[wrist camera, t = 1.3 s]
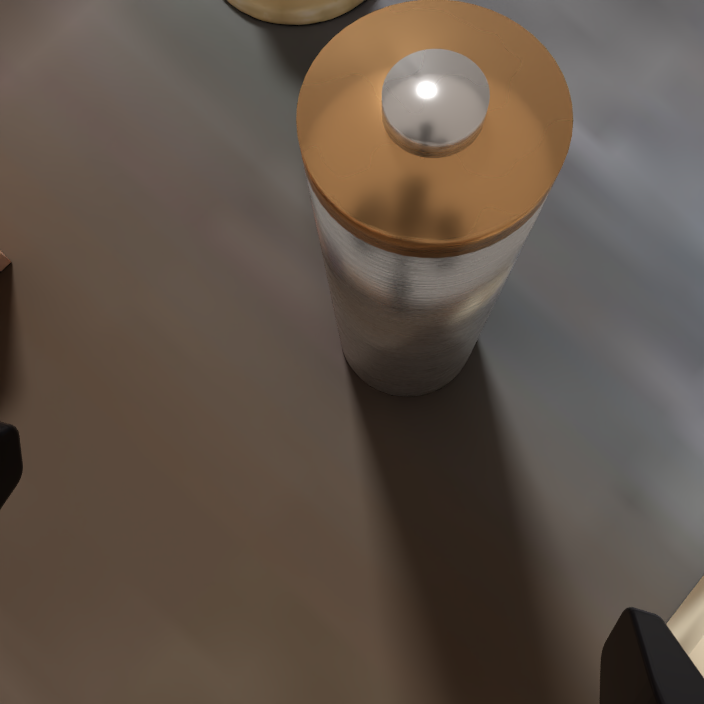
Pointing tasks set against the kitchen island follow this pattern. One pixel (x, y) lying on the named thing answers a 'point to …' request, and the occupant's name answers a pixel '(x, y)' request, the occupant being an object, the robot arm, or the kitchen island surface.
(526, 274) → the kitchen island surface
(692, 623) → the shallow square beige tray
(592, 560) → the kitchen island surface
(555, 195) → the kitchen island surface
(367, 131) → the lidded storage canister
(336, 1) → the hand bell
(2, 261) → the bin
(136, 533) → the kitchen island surface
